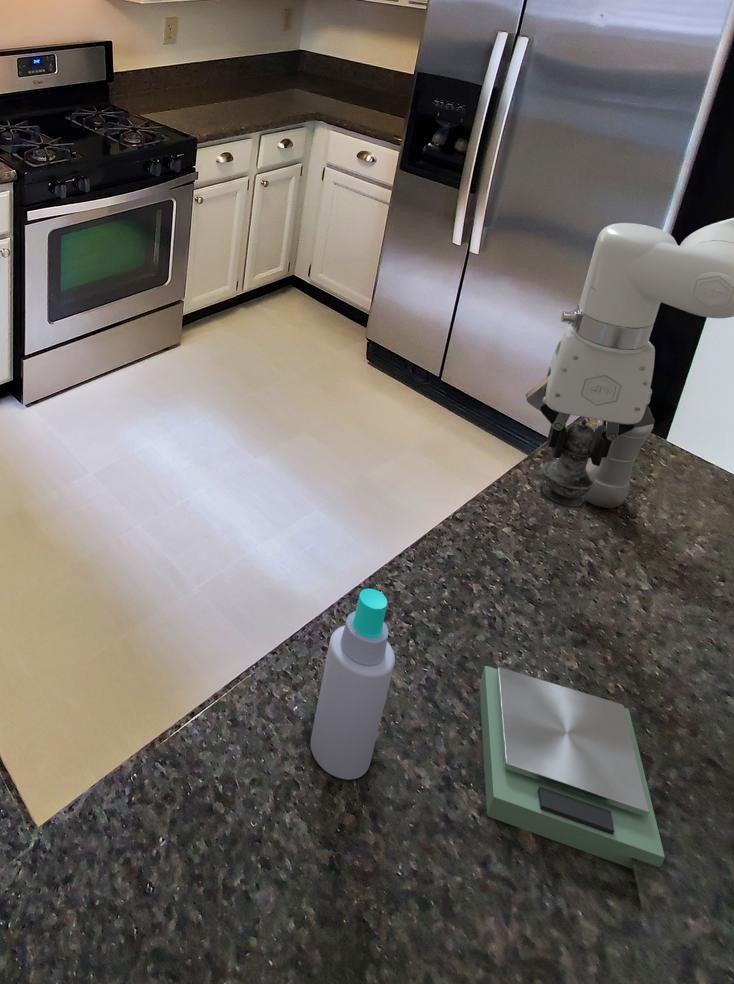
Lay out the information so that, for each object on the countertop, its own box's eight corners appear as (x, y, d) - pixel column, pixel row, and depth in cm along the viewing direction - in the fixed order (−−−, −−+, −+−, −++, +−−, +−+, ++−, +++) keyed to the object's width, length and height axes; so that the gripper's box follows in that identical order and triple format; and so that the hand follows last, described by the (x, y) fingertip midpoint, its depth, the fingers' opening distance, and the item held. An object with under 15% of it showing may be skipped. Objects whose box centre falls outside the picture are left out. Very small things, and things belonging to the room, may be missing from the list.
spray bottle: (297, 741, 85) (326, 587, 76) (339, 718, 87) (372, 566, 78) (338, 792, 80) (374, 634, 71) (382, 765, 82) (422, 609, 73)
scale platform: (621, 709, 84) (623, 704, 84) (646, 817, 74) (649, 812, 74) (496, 671, 89) (498, 666, 88) (504, 768, 79) (506, 763, 78)
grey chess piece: (537, 477, 107) (558, 401, 103) (588, 491, 105) (612, 414, 100) (535, 502, 103) (556, 424, 98) (588, 517, 100) (613, 438, 95)
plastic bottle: (581, 479, 125) (617, 369, 116) (629, 501, 120) (671, 389, 112) (564, 496, 121) (601, 384, 113) (613, 520, 116) (656, 405, 108)
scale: (620, 727, 86) (630, 705, 85) (655, 877, 73) (667, 853, 71) (479, 683, 91) (486, 661, 90) (486, 816, 78) (495, 792, 76)
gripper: (535, 329, 94) (503, 457, 101) (705, 355, 88) (658, 489, 95) (529, 303, 100) (499, 426, 107) (687, 325, 94) (644, 453, 101)
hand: (574, 454), depth 101 cm, fingers closed on grey chess piece, 3 cm apart
